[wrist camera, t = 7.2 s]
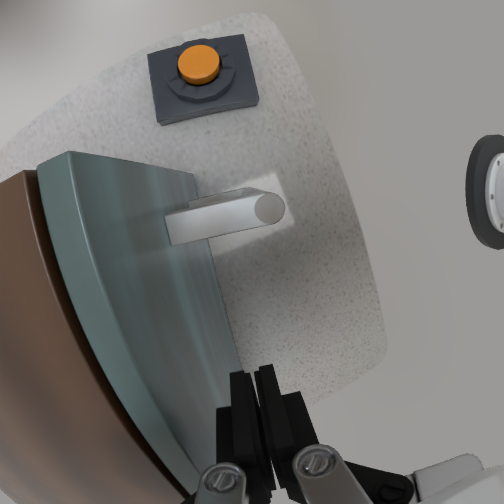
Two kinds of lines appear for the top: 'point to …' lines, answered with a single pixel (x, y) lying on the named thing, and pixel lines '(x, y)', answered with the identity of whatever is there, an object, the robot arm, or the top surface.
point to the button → (199, 64)
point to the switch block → (205, 95)
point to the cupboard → (59, 382)
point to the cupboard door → (152, 291)
